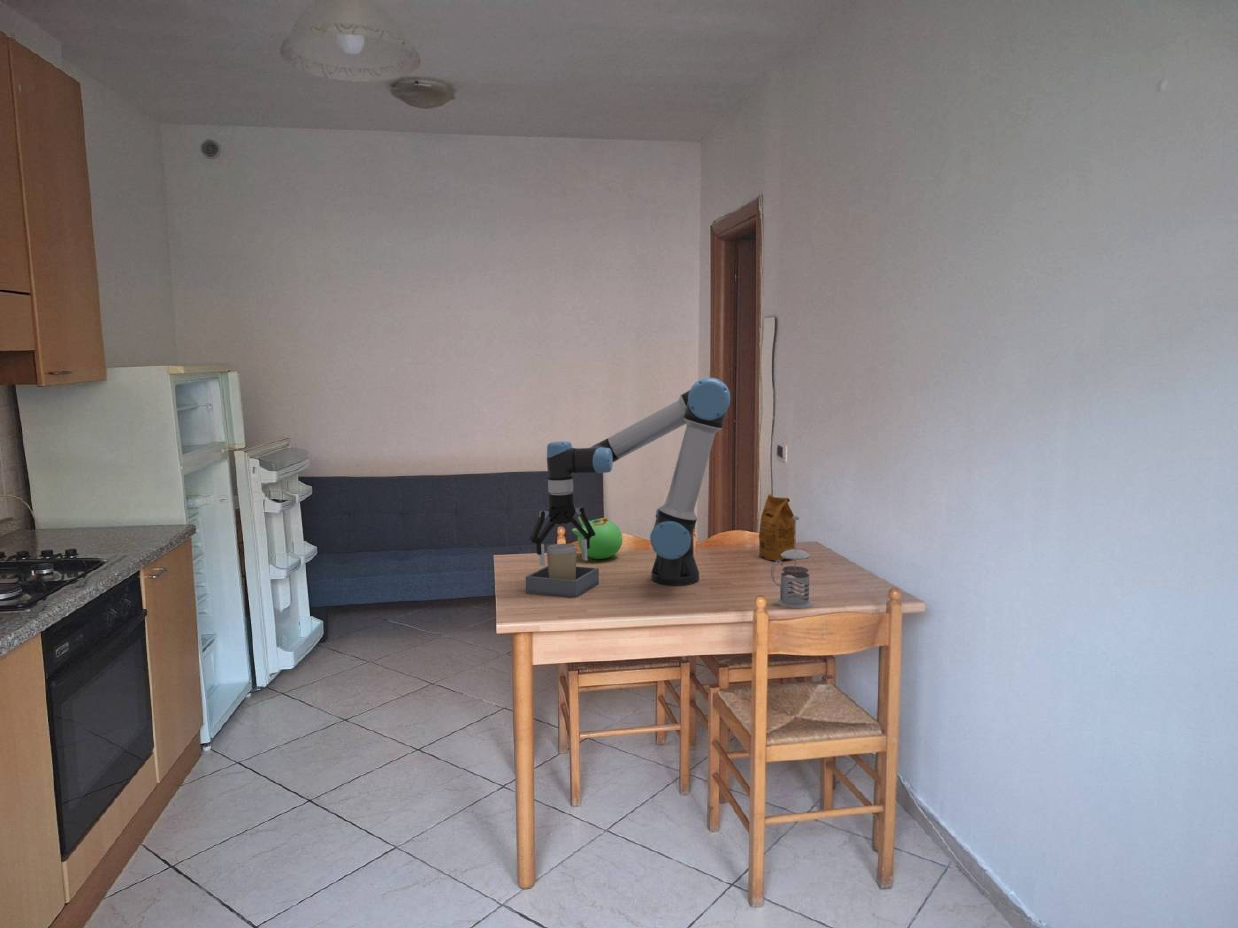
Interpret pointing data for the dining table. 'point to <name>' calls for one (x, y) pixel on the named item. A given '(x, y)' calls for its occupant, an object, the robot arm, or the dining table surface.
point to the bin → (562, 583)
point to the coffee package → (776, 528)
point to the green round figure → (601, 538)
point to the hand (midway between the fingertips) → (563, 562)
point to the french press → (794, 579)
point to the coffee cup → (562, 561)
